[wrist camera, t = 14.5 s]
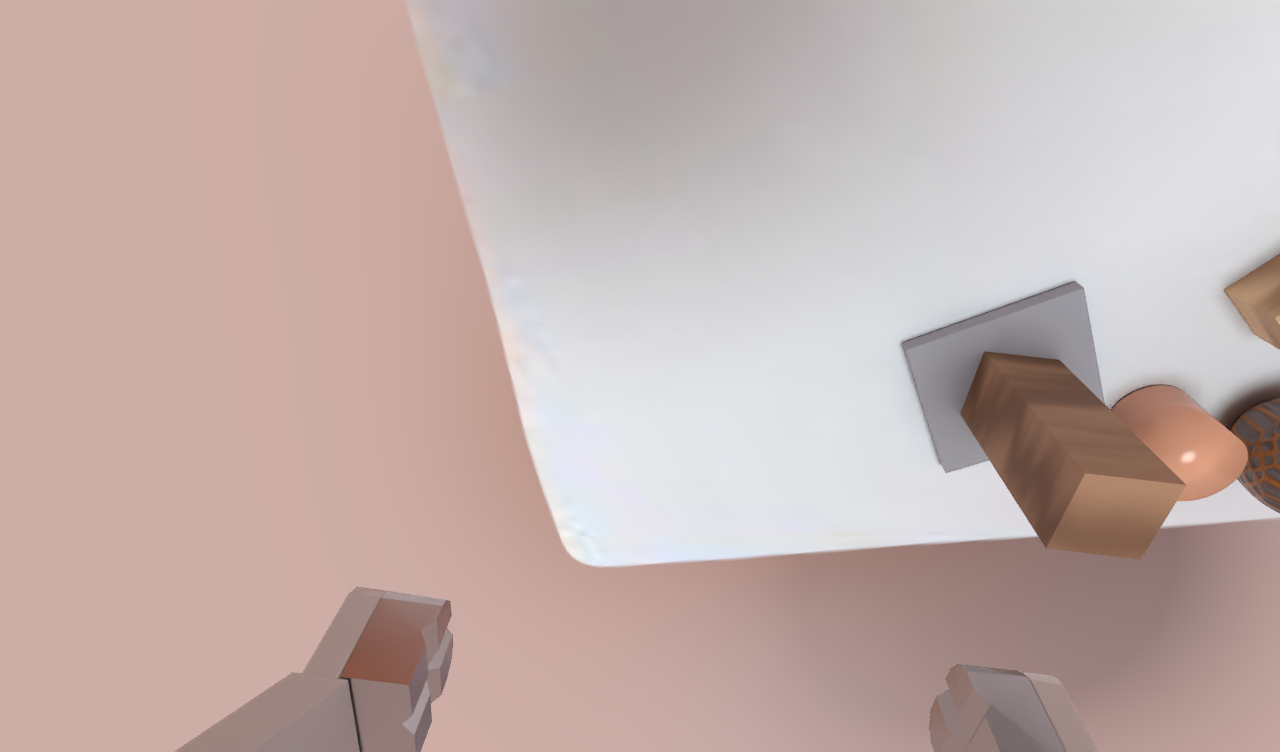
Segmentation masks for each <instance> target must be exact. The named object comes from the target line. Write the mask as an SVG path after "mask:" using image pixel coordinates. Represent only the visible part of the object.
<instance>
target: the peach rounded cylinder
mask: <svg viewBox="0 0 1280 752" xmlns="http://www.w3.org/2000/svg"><path fill="white" fill-rule="evenodd" d="M1111 411H1112V412H1113V413H1114V414H1115V415H1116V416H1117V417H1118V418H1119V419H1120V420H1121V421H1122V422H1123V423H1124V424H1125V425H1126V426H1127V427H1128V428H1129V429H1130V430H1131V431H1132V432H1133V433H1134V434H1135V435H1136V436H1137V437H1138V438H1139V439H1140V440H1141V441H1142V442H1143V443H1144V444H1145V445H1146V446H1147V447H1148V448H1149V449H1150V450H1151V451H1152V452H1153V453H1154V454H1156V455H1157V456H1158V457H1159V458H1160V459H1161V460H1162V461H1163V462H1164V463H1165V464H1166V465H1167V466H1168V467H1169V468H1170V469H1171V470H1172V471H1173V472H1174V473H1175V474H1176V475H1177V476H1178V477H1179V478H1180V479H1181V480H1182V481H1183V482H1184V483H1185V484H1186V487H1185V488H1184V490H1183V492H1182V493H1181V495H1180V497H1179V498H1178V500H1177V501H1192V500H1198V499H1202V498H1205V497H1208V496H1211V495H1213V494H1215V493H1217V492H1219V491H1221V490H1223V489H1224V488H1226V487H1228V486H1229V485H1230V484H1231V483H1233V482H1234V481H1235V480H1236V479H1237V478H1238V477H1239V476H1240V474H1241V473H1242V471H1243V470H1244V468H1245V466H1246V463H1247V460H1248V451H1247V448H1246V446H1245V444H1244V443H1243V442H1242V441H1241V440H1240V439H1239V438H1238V437H1236V436H1235V435H1234V434H1233V433H1232V432H1231V431H1229V430H1228V429H1227V428H1226V427H1225V426H1223V425H1222V424H1221V423H1220V422H1219V421H1218V420H1216V419H1215V418H1214V417H1213V416H1212V415H1211V414H1209V413H1208V412H1207V411H1206V410H1205V409H1203V408H1202V407H1201V406H1200V405H1199V404H1198V403H1196V402H1195V401H1194V400H1193V399H1192V398H1191V397H1189V396H1188V395H1187V394H1186V393H1185V392H1183V391H1182V390H1180V389H1178V388H1176V387H1172V386H1166V385H1157V386H1150V387H1146V388H1143V389H1140V390H1137V391H1135V392H1133V393H1131V394H1129V395H1128V396H1126V397H1124V398H1123V399H1122V400H1120V401H1119V402H1118V403H1117V404H1116V405H1115V406H1114V407H1113V409H1112V410H1111Z"/></svg>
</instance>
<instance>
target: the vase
mask: <svg viewBox="0 0 1280 752" xmlns="http://www.w3.org/2000/svg"><path fill="white" fill-rule="evenodd" d="M1231 432H1232V433H1233V434H1234V435H1235V436H1236V437H1238V438H1239V439H1240V440H1241V441H1242V442H1243V443H1244V444H1245V446H1246V448H1247V451H1248V460H1247V463H1246V466H1245V468H1244V470H1243V471H1242V473H1241V474H1240V476H1239V477H1238V478H1237V479H1238V480H1239V482H1240V483H1241V484H1242V485H1243V486H1244V487H1245V488H1246V489H1247V490H1248V491H1249V492H1250V493H1251V494H1252V495H1253V496H1254V497H1255V498H1256V499H1258V500H1259V501H1260V502H1261V503H1263V504H1264V505H1266V506H1268V507H1269V508H1271V509H1273V510H1275V511H1276V512H1278V513H1280V398H1278V399H1274V400H1270V401H1267V402H1264V403H1261V404H1258V405H1256V406H1254V407H1252V408H1251V409H1249V410H1248V411H1246V412H1245V413H1244V414H1242V415H1241V416H1240V417H1239V418H1238V419H1237V421H1236V422H1235V423H1234V425H1233V427H1232V428H1231Z"/></svg>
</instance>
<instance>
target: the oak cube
mask: <svg viewBox="0 0 1280 752" xmlns="http://www.w3.org/2000/svg"><path fill="white" fill-rule="evenodd" d="M1224 291H1225V293H1226V294H1227V296H1228V297H1229V299H1230V300H1231V301H1232V303H1233V304H1234V306H1235V307H1236V308H1237V310H1238V311H1239V313H1240V314H1241V316H1242V317H1243V318H1244V320H1245V321H1246V323H1247V324H1248V326H1249V327H1250V328H1251V330H1252V331H1253V333H1254V334H1255V335H1256V336H1258V337H1259V338H1261V339H1263V340H1264V341H1266V342H1268V343H1270V344H1271V345H1273V346H1275V347H1276V348H1278V349H1280V254H1279V255H1277V256H1276V257H1274V258H1273V259H1271V260H1270V261H1268V262H1266V263H1265V264H1263V265H1262V266H1260V267H1259V268H1257V269H1256V270H1254V271H1252V272H1251V273H1249V274H1248V275H1246V276H1245V277H1243V278H1241V279H1240V280H1238V281H1237V282H1235V283H1234V284H1232V285H1231V286H1229V287H1227V288H1226V289H1224Z"/></svg>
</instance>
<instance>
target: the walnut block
mask: <svg viewBox="0 0 1280 752" xmlns="http://www.w3.org/2000/svg"><path fill="white" fill-rule="evenodd" d="M960 415H961V416H962V418H963V420H964V421H965V423H966V424H967V426H968V427H969V429H970V430H971V432H972V434H973V435H974V437H975V438H976V440H977V441H978V443H979V444H980V446H981V448H982V449H983V451H984V452H985V454H986V455H987V457H988V458H989V460H990V462H991V463H992V465H993V466H994V468H995V469H996V471H997V472H998V474H999V476H1000V477H1001V479H1002V480H1003V482H1004V483H1005V485H1006V486H1007V488H1008V490H1009V491H1010V493H1011V494H1012V496H1013V497H1014V499H1015V501H1016V502H1017V504H1018V505H1019V507H1020V508H1021V510H1022V511H1023V513H1024V515H1025V516H1026V518H1027V519H1028V521H1029V522H1030V524H1031V525H1032V527H1033V529H1034V530H1035V532H1036V533H1037V535H1038V536H1039V538H1040V539H1041V541H1042V542H1043V544H1044V546H1045V547H1046V548H1049V549H1058V550H1066V551H1075V552H1083V553H1091V554H1100V555H1108V556H1117V557H1125V558H1134V559H1141V558H1142V556H1143V554H1144V553H1145V551H1146V550H1147V548H1148V546H1149V545H1150V543H1151V541H1152V540H1153V538H1154V537H1155V535H1156V534H1157V532H1158V530H1159V529H1160V527H1161V525H1162V524H1163V522H1164V521H1165V519H1166V517H1167V516H1168V514H1169V513H1170V511H1171V509H1172V508H1173V506H1174V505H1175V503H1176V501H1177V500H1178V498H1179V497H1180V495H1181V493H1182V492H1183V490H1184V488H1185V487H1186V484H1185V483H1184V482H1183V481H1182V480H1181V479H1180V478H1179V477H1178V476H1177V475H1176V474H1175V473H1174V472H1173V471H1172V470H1171V469H1170V468H1169V467H1168V466H1167V465H1166V464H1165V463H1164V462H1163V461H1162V460H1161V459H1160V458H1159V457H1158V456H1157V455H1156V454H1154V453H1153V452H1152V451H1151V450H1150V449H1149V448H1148V447H1147V446H1146V445H1145V444H1144V443H1143V442H1142V441H1141V440H1140V439H1139V438H1138V437H1137V436H1136V435H1135V434H1134V433H1133V432H1132V431H1131V430H1130V429H1129V428H1128V427H1127V426H1126V425H1125V424H1124V423H1123V422H1122V421H1121V420H1120V419H1119V418H1118V417H1117V416H1116V415H1115V414H1114V413H1113V412H1112V411H1111V410H1110V409H1109V408H1108V407H1107V406H1106V405H1105V404H1104V403H1103V402H1102V401H1101V400H1100V399H1099V398H1098V397H1097V396H1096V395H1095V394H1094V393H1093V392H1092V391H1091V390H1090V389H1089V388H1088V387H1087V386H1086V385H1084V384H1083V383H1082V382H1081V381H1080V380H1079V379H1078V378H1077V377H1076V376H1075V375H1074V374H1073V373H1072V372H1071V371H1070V370H1069V369H1068V368H1067V367H1066V366H1065V365H1064V364H1063V363H1062V362H1061V361H1060V360H1057V359H1048V358H1039V357H1031V356H1022V355H1013V354H1004V353H996V352H987V351H984V353H983V356H982V359H981V361H980V364H979V366H978V369H977V371H976V374H975V377H974V379H973V382H972V384H971V387H970V389H969V392H968V395H967V397H966V400H965V402H964V405H963V408H962V410H961V413H960Z"/></svg>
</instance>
